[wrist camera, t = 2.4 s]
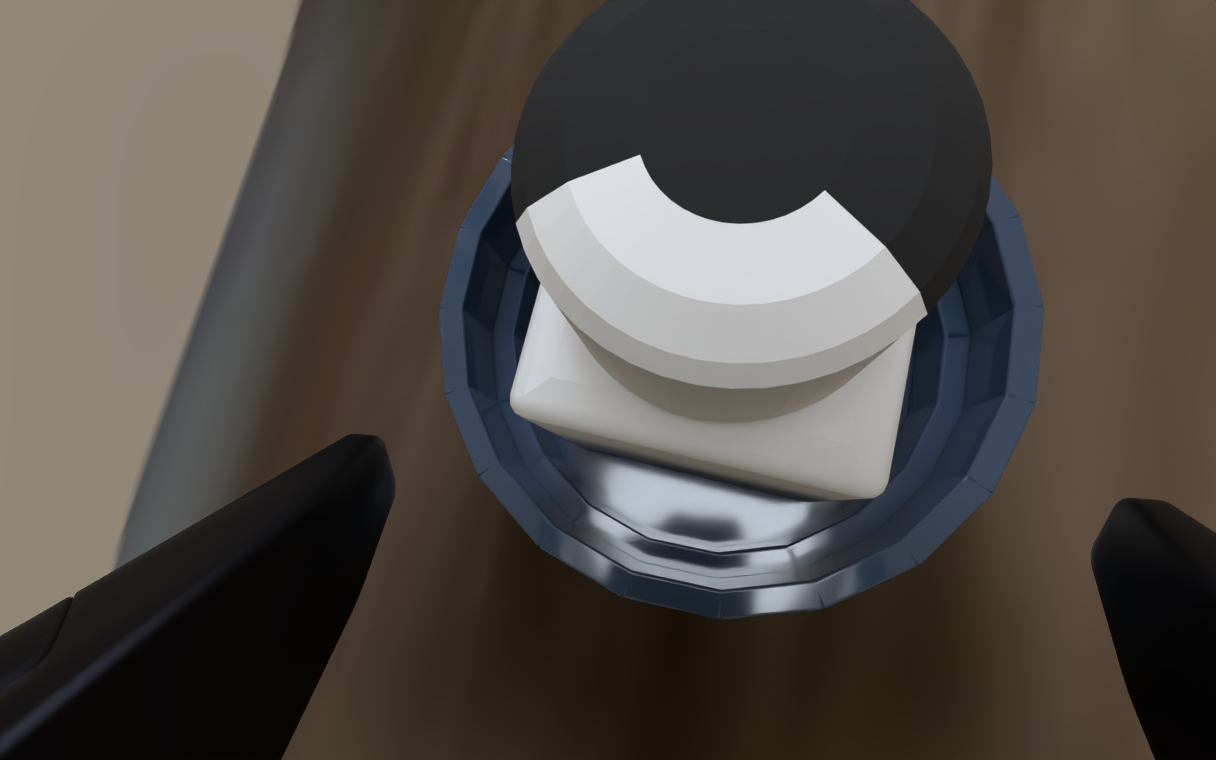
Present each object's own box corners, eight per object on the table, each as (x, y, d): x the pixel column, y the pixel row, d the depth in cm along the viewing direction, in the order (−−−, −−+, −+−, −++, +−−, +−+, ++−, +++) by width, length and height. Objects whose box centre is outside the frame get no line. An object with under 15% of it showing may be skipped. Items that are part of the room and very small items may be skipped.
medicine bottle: (628, 221, 21) (535, -154, 9) (864, 263, 19) (1114, -109, 8) (571, 445, 20) (379, 352, 8) (817, 505, 18) (1027, 499, 7)
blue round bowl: (924, 637, 18) (1010, 686, 13) (458, 535, 20) (380, 543, 15) (976, 178, 20) (1067, 70, 15) (550, 132, 22) (507, 25, 17)
